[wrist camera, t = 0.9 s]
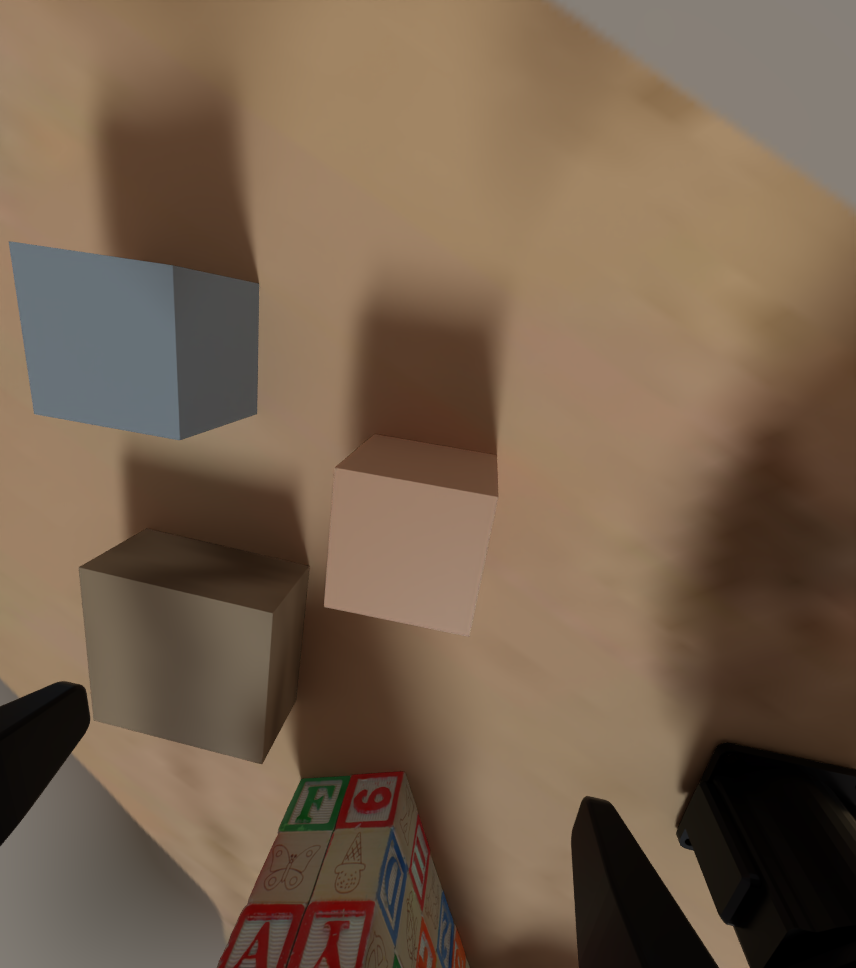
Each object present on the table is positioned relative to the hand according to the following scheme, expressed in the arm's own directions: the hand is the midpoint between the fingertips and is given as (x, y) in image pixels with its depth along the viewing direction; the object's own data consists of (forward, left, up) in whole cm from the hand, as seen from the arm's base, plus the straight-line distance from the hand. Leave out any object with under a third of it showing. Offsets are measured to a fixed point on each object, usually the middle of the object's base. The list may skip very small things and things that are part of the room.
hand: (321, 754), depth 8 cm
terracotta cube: (0, 0, -12) cm, 12 cm away
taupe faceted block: (+9, +8, -12) cm, 17 cm away
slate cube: (+10, -5, -12) cm, 16 cm away
